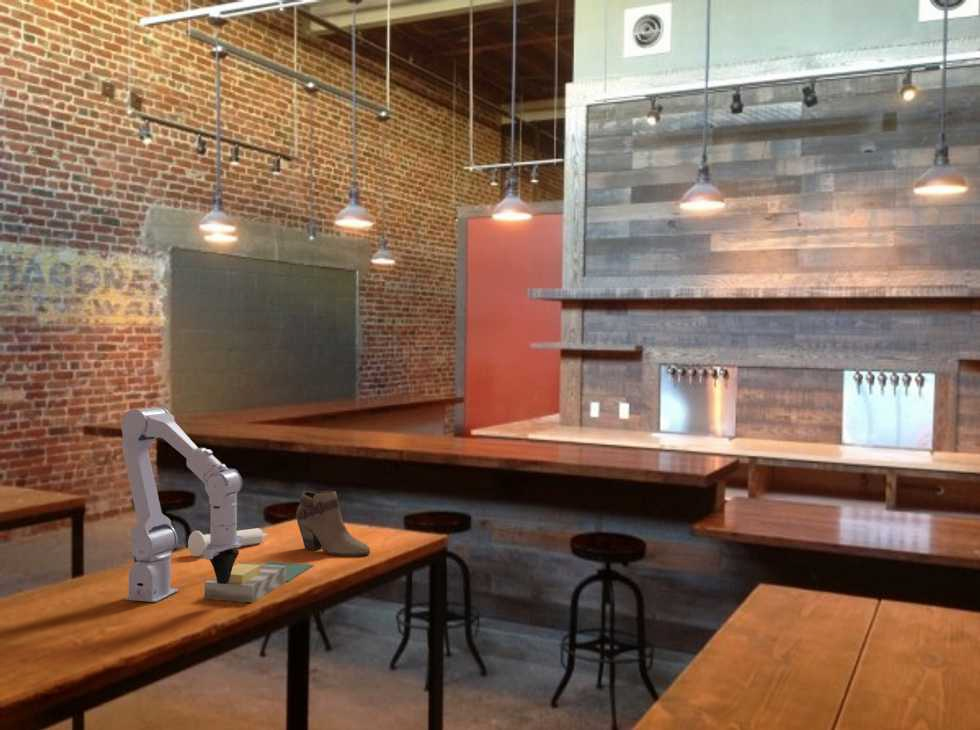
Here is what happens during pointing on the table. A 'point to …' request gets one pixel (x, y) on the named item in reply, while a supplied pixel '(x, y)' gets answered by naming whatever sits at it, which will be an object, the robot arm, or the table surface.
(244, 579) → the yellow rectangular block
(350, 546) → the boot
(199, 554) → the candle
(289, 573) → the mat
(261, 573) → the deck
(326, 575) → the table surface
